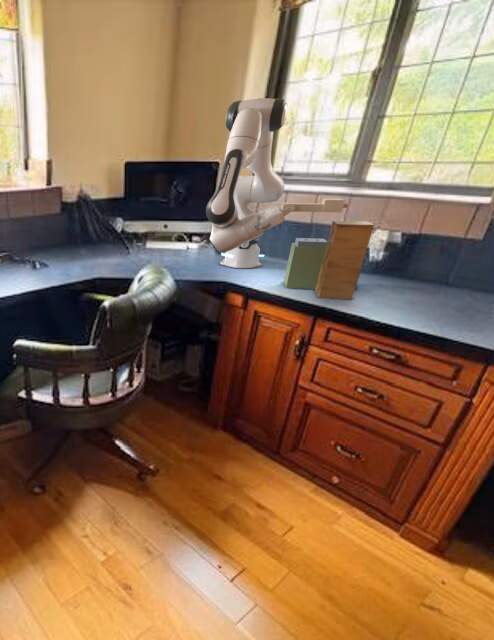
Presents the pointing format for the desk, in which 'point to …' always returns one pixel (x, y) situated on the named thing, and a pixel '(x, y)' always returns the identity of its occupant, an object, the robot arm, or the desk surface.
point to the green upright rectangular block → (304, 263)
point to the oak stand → (343, 259)
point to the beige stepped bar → (319, 206)
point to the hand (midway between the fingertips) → (293, 205)
